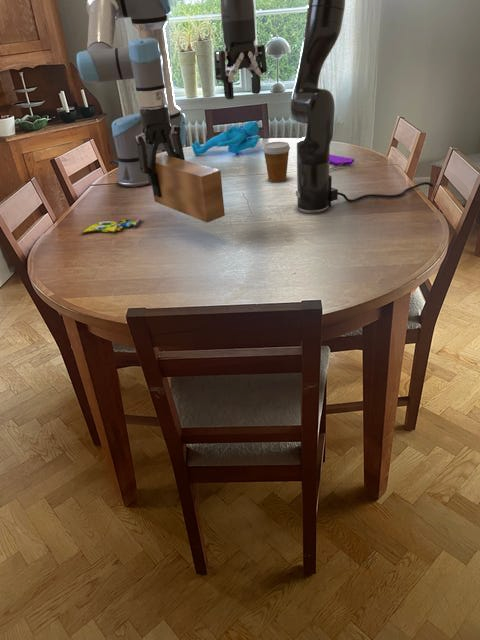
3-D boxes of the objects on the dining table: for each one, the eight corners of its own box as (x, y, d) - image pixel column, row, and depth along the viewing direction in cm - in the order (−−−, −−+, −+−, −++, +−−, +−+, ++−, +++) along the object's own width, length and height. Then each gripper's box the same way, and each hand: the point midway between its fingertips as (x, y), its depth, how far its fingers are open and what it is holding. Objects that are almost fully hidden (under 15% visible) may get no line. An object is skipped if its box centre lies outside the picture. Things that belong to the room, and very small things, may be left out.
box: (154, 201, 141) (147, 159, 134) (171, 195, 144) (165, 154, 137) (206, 223, 124) (201, 176, 117) (224, 215, 127) (220, 170, 121)
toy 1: (130, 230, 139) (81, 231, 142) (130, 232, 140) (82, 234, 142) (140, 217, 148) (94, 218, 150) (141, 219, 148) (95, 221, 151)
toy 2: (197, 135, 216) (259, 115, 206) (205, 158, 221) (266, 140, 211) (186, 144, 203) (252, 124, 192) (195, 169, 208) (260, 150, 198)
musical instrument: (342, 175, 173) (362, 153, 185) (341, 169, 172) (361, 148, 184) (283, 174, 186) (305, 153, 198) (282, 169, 184) (305, 148, 196)
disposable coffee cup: (260, 182, 170) (258, 147, 164) (269, 174, 177) (267, 141, 171) (286, 183, 167) (285, 148, 160) (294, 175, 174) (293, 141, 168)
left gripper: (129, 115, 119) (146, 205, 131) (191, 101, 128) (201, 186, 141) (114, 112, 123) (132, 199, 136) (175, 99, 133) (186, 181, 146)
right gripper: (224, 20, 103) (231, 102, 112) (272, 15, 110) (274, 92, 119) (203, 21, 108) (211, 100, 117) (250, 17, 115) (254, 91, 124)
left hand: (167, 192), depth 139 cm, fingers closed on box, 6 cm apart
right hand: (243, 96), depth 118 cm, fingers open, 8 cm apart
